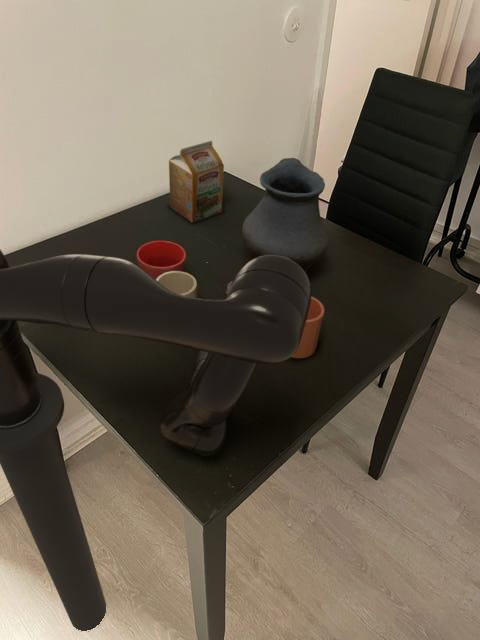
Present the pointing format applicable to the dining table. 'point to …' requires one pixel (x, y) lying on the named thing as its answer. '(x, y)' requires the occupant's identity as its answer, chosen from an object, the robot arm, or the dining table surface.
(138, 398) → the dining table surface
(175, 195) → the milk carton
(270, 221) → the dark grey vase
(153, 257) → the flower pot
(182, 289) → the cream cup
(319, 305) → the terracotta cup
